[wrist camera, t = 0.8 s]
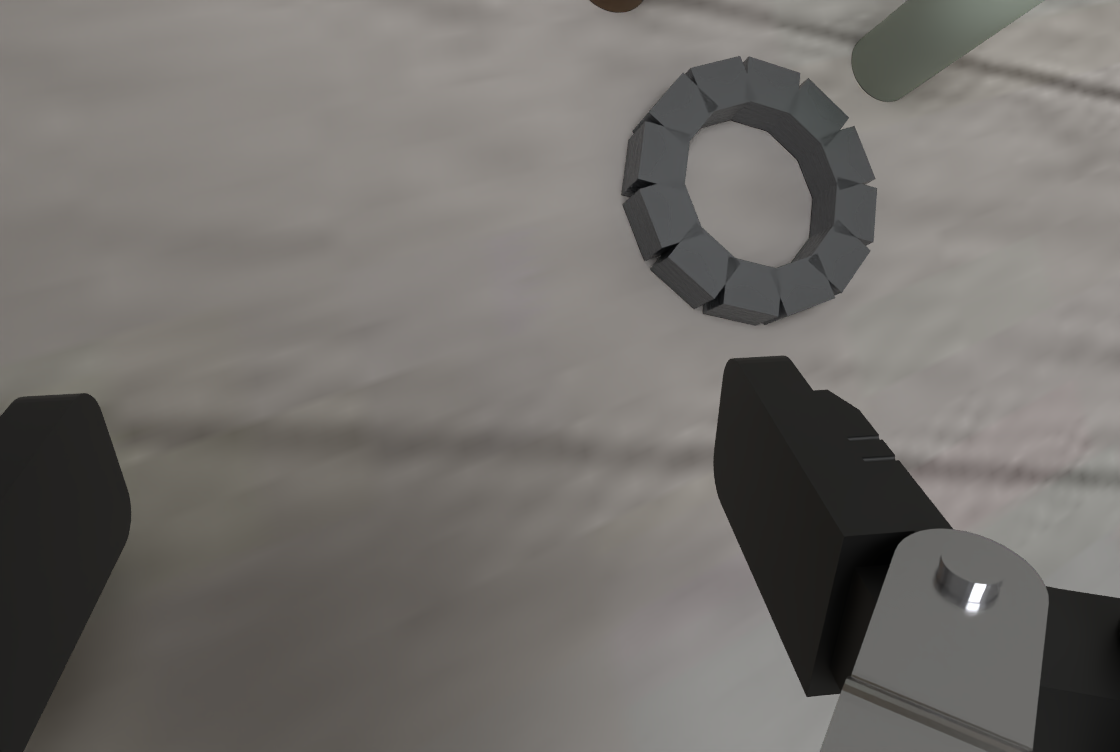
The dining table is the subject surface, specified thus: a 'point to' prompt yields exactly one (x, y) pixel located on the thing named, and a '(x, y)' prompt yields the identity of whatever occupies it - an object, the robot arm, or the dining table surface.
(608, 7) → the walnut dowel
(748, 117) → the ring
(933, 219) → the dining table surface
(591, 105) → the dining table surface
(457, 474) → the dining table surface
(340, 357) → the dining table surface
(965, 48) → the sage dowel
